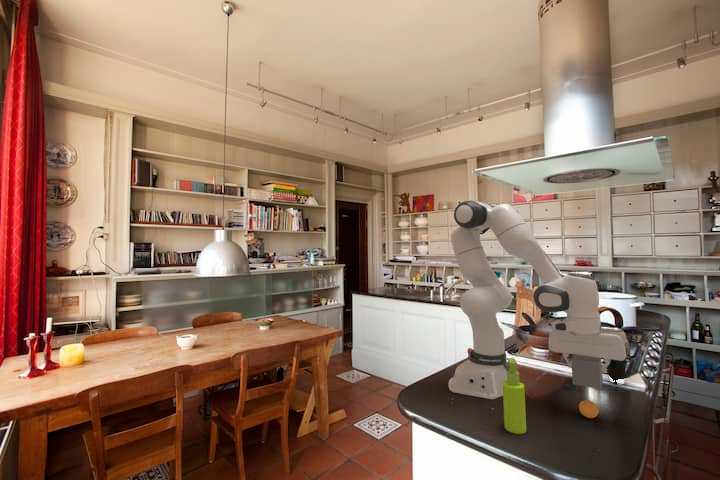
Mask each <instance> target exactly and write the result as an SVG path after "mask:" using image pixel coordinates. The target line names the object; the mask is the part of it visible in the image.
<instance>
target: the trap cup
mask: <svg viewBox="0 0 720 480" xmlns="http://www.w3.org/2000/svg"><path fill="white" fill-rule="evenodd" d="M570 361H571V365H572V368H571V377H572V384H573V385H575V386H582V387H586V388H593V389H598V390H601V389H602V386H603V382H604V378H603V373H601V371H600V370H601V369H600V366H601V365H602V366H603V363H602V358H597V357H589V356H582V355H574V354H572V357H571V358H570Z"/></svg>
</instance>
